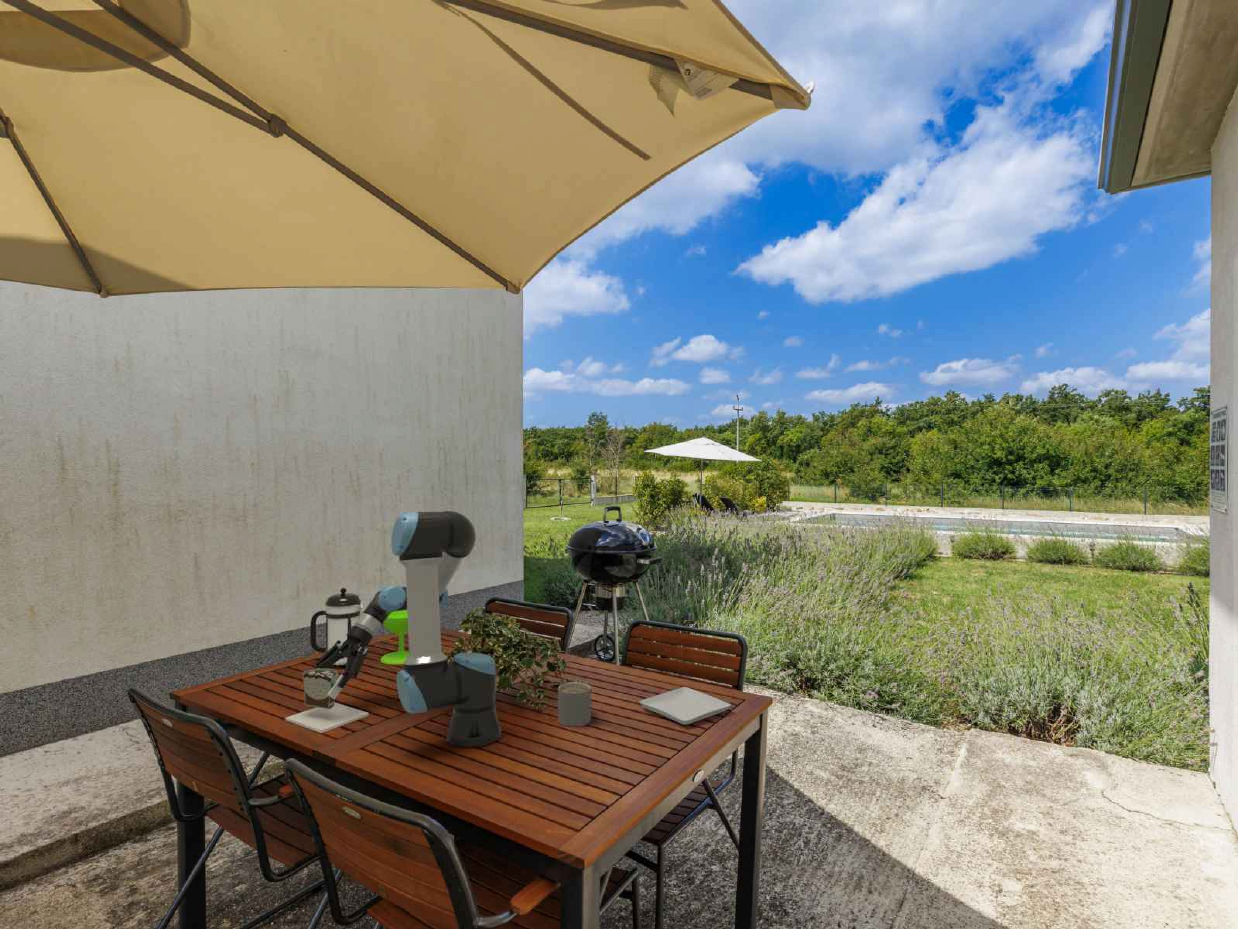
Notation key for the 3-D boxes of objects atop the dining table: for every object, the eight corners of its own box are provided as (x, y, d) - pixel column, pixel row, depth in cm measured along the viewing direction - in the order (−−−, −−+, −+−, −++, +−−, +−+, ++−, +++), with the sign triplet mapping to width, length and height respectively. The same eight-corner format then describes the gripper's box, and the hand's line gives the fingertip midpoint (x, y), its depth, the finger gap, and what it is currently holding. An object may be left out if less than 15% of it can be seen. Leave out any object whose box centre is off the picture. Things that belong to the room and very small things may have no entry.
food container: (347, 703, 201) (348, 670, 201) (332, 710, 195) (332, 676, 195) (317, 697, 205) (317, 666, 205) (301, 704, 200) (301, 671, 200)
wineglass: (378, 655, 267) (378, 611, 267) (419, 651, 273) (419, 608, 274) (382, 666, 252) (382, 620, 252) (424, 661, 259) (425, 616, 259)
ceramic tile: (368, 715, 202) (368, 713, 202) (321, 733, 188) (321, 730, 188) (333, 704, 212) (333, 701, 212) (285, 720, 198) (285, 717, 198)
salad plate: (685, 731, 191) (685, 720, 191) (637, 710, 208) (637, 700, 208) (733, 714, 205) (733, 703, 205) (684, 696, 221) (684, 686, 221)
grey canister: (576, 729, 192) (576, 695, 192) (551, 721, 198) (551, 688, 198) (604, 715, 202) (604, 683, 203) (579, 708, 208) (579, 677, 208)
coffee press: (355, 656, 265) (355, 582, 265) (368, 665, 253) (369, 588, 253) (309, 664, 254) (310, 587, 254) (321, 674, 242) (321, 593, 242)
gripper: (394, 642, 207) (350, 707, 194) (348, 632, 220) (304, 692, 206) (380, 629, 203) (334, 694, 189) (334, 619, 215) (288, 679, 202)
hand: (319, 693), depth 198 cm, fingers closed on food container, 11 cm apart
